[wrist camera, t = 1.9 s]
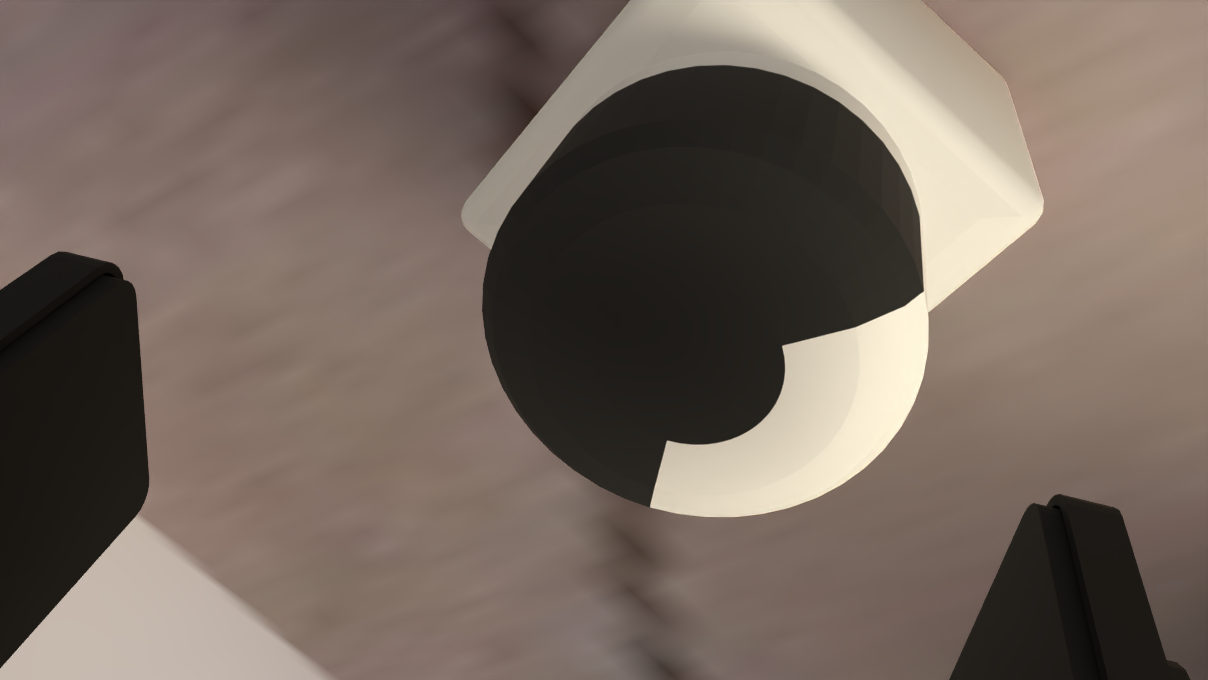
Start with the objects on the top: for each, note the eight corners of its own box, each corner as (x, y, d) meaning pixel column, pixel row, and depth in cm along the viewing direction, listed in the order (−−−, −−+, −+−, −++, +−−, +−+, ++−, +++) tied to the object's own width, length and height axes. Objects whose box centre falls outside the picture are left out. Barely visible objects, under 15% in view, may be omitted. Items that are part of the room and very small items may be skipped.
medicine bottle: (550, 103, 26) (331, 357, 16) (762, -154, 23) (655, -42, 12) (779, 301, 27) (711, 657, 17) (1014, 85, 24) (1108, 370, 13)
